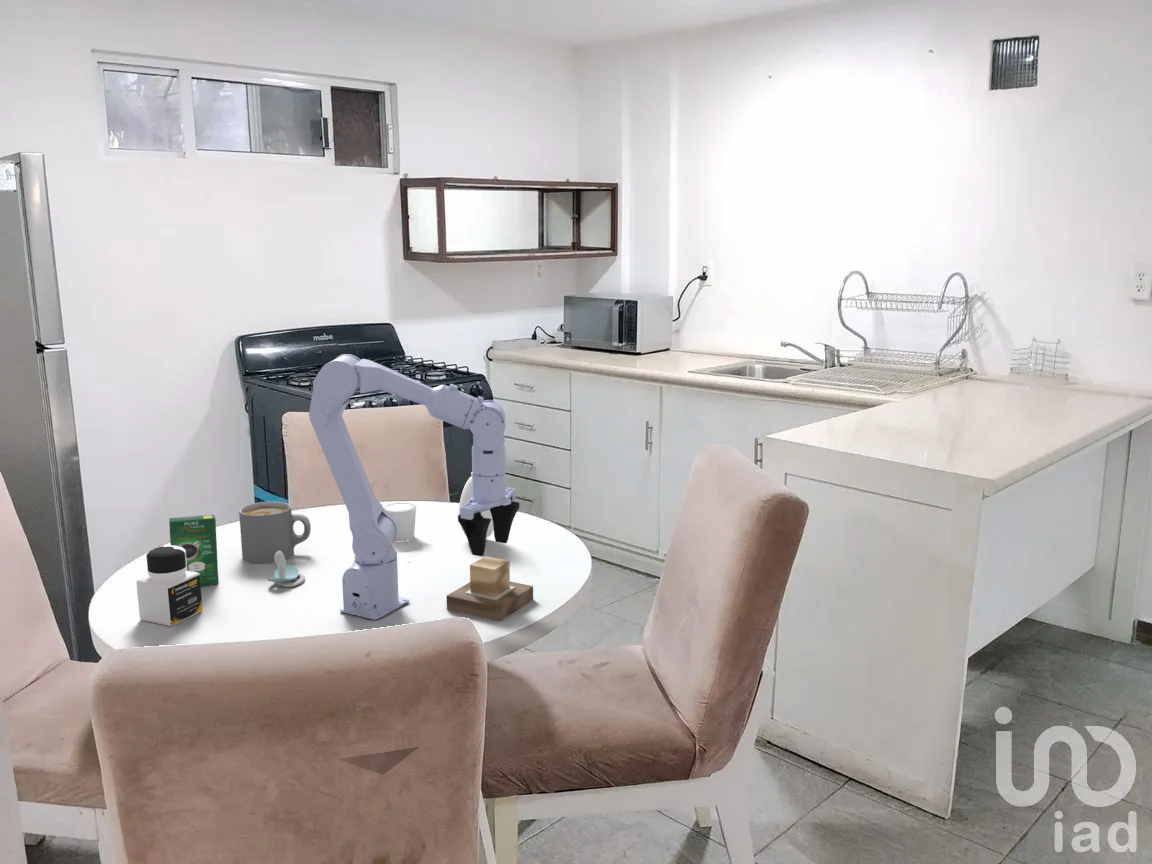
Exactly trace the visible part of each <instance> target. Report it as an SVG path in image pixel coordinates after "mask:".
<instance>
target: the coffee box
mask: <svg viewBox="0 0 1152 864" xmlns="http://www.w3.org/2000/svg"><path fill="white" fill-rule="evenodd" d="M168 521H169V522H168V523H169V541H170V545H174V546H179V547H182V548H184V549H185V550H186V561H187V571H191V572H197V573H199V574H200V585H201V587H204V586H211V585H212V586H213V585H219V583H220V582H219V580H220V579H219V568H218V567H219V566H218V564H219V563H218V562H219V561H218V545H217V544H218V542H217V526H216V525H217V523H216V522H217V519H216V517H215V514H207V515H193V516H191V515H190V516H179V517H169V519H168Z"/></svg>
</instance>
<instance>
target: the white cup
mask: <svg viewBox="0 0 1152 864" xmlns="http://www.w3.org/2000/svg"><path fill="white" fill-rule="evenodd" d="M383 508H384V511H385V512H386V514H387V515H388V516H390V517H391V518H392V519H393V520H394V522H395V524H396V526H397V535H396V538H395V539H394V541H406V542H408V541H407V540H410V541H412V540H413V539H414V538H415V529H416V528H415V527H416V515H417V514H416V512H417V506H416V505H415V504H414V503H408V502H395V503H390V504H387V505H385V506H384V507H383ZM412 538H413V539H412ZM411 539H412V540H411Z"/></svg>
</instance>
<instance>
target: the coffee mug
mask: <svg viewBox="0 0 1152 864" xmlns="http://www.w3.org/2000/svg"><path fill="white" fill-rule="evenodd" d="M238 515H239V529H240V543H241V556H242V561H243V562H245V563H248V564H254V565H267V564H268V565H270V564H276V563H275V561H274V556H275V554H276V552H278V551H282V553H283V555H284V557H285V561H286V560H288V559H291V558H292V557H293V556H294V555H295V554H294V553H295V551H294V550H295V547H296V546H297V545H299V544H301V543H303V542H306V541H307V540H308V538H310V535H311V530H312V529H311V522H310V521H311V520H310V519H309V517H308V516H307V515H305V514H303V513H293V512H292V505H291V504H289V503H287V502H285V501H284V502H282V501H263V502H261V501H260V502H256V503H251V504H250V503H249V504H247V505H244V506H242V507H241V508H239V512H238ZM297 521H299V522H301V523H302V524H303V527H304V529H303V533H301V534H300V535H299V534H297V533H296V532H295V529H294V524H295V523H296V522H297Z"/></svg>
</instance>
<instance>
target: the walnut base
mask: <svg viewBox="0 0 1152 864" xmlns="http://www.w3.org/2000/svg"><path fill="white" fill-rule="evenodd" d="M533 600H534V585H529V584H523V583H520V582H514V581H510V588H508V589H507V590H505V591H504V592H502V593H500V594H499V595H497V596H496V597H492V596H487V595H482V594H478V593H473V592H470V581H469V582H468V583H466V584H465V585H462V586H461V587H459V588H457V589H456V590H454V591H452V592H451V593H448V594H446V610H448V611H454V612H457V613H462V614H466V615H470V616H475V617H479V616H480V618H485V619H489V620H492V621H498V622H502V621H503V620H505V619H506V618H507V617H509V616H511V615H513V614H514V613H515V612H517V611H518V610H519V609H522V608H523V607H524V606H526V605H527V604H528V603H530V602H531V601H533Z"/></svg>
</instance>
